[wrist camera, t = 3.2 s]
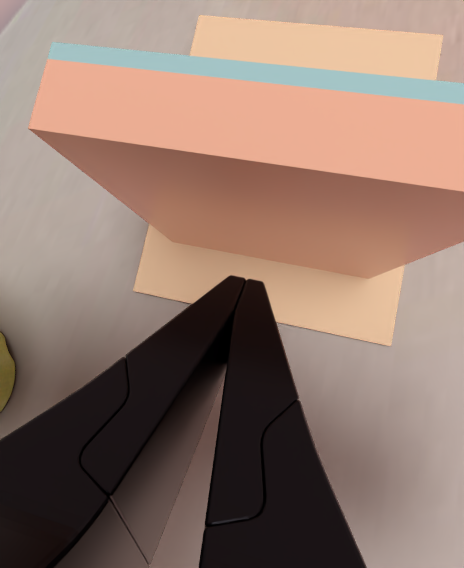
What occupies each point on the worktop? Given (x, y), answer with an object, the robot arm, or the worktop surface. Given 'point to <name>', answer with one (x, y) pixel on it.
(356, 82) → the tile
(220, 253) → the cork mat
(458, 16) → the worktop surface
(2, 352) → the plant pot
